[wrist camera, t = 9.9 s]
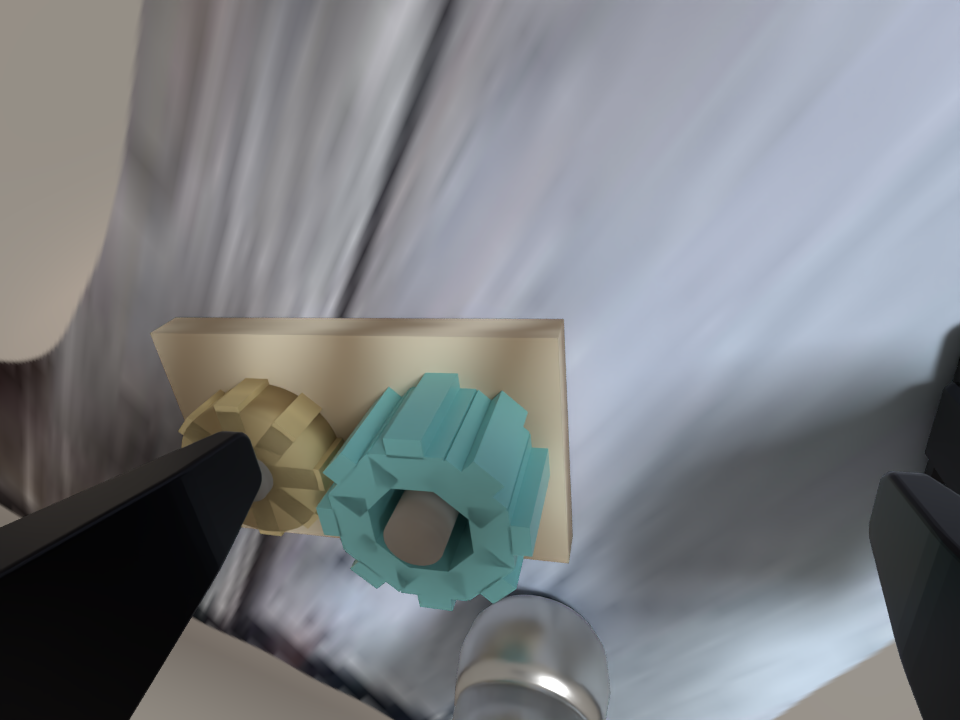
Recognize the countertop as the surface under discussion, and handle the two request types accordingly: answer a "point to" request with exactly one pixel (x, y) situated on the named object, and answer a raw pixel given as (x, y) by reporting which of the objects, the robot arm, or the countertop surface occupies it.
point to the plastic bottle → (531, 664)
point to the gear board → (362, 405)
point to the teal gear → (440, 489)
